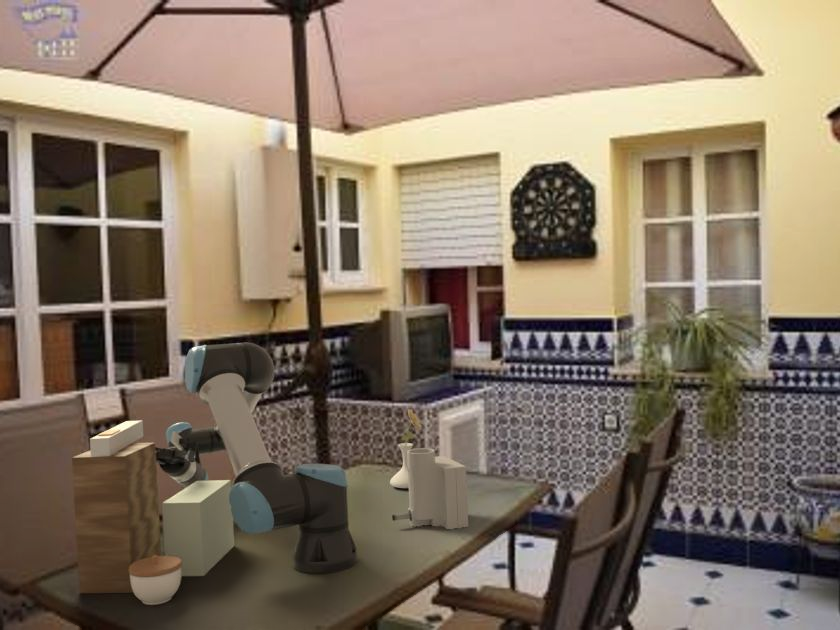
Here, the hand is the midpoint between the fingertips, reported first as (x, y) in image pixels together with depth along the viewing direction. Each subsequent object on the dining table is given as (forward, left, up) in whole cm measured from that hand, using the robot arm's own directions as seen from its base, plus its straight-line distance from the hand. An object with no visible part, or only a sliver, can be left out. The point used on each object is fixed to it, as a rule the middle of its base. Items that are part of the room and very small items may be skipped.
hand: (146, 437), depth 204 cm
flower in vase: (+6, -88, -30) cm, 93 cm away
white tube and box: (-31, -64, -30) cm, 77 cm away
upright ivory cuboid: (-14, -7, -30) cm, 33 cm away
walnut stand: (-13, +12, -30) cm, 35 cm away
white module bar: (-9, +10, 0) cm, 13 cm away
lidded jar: (-31, +11, -30) cm, 45 cm away
